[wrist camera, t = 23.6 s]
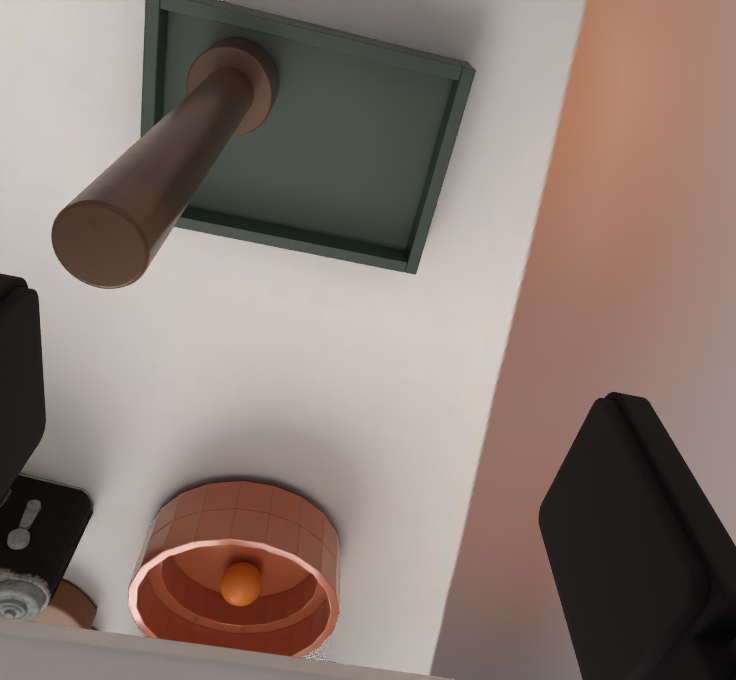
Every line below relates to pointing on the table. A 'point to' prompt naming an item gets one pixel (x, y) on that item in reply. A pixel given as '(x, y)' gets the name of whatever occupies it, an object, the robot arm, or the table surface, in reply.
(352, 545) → the table surface
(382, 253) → the spoon tray
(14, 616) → the camera
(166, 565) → the copper shallow cylinder
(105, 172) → the brown wooden rod
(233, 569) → the ball
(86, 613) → the plant
